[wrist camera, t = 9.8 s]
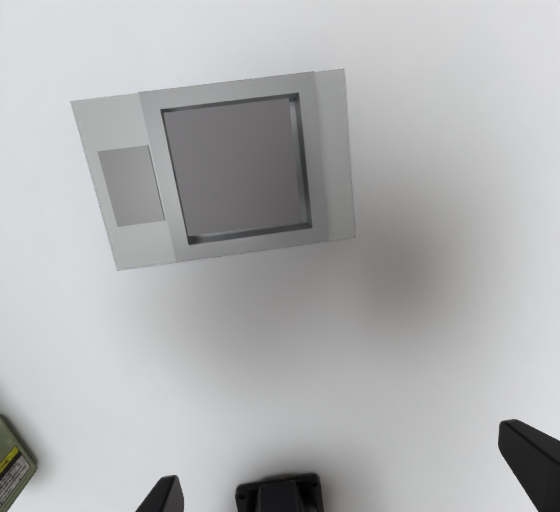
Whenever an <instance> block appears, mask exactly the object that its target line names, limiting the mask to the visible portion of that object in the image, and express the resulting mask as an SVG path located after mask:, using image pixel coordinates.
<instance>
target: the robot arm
mask: <svg viewBox="0 0 560 512" xmlns="http://www.w3.org/2000/svg"><path fill="white" fill-rule="evenodd" d="M498 446H499V450H500V452H501V454H502V456H503V457H504V459H505V460H506V462H507V464H508V465H509V467H510V468H511V470H512V471H513V473H514V474H515V476H516V478H517V479H518V481H519V482H520V484H521V485H522V487H523V489H524V490H525V492H526V493H527V495H528V496H529V498H530V499H531V501H532V503H533V504H534V506H535V507H536V509H537V510H538V512H560V441H559V440H557V439H555V438H553V437H551V436H549V435H547V434H545V433H543V432H541V431H539V430H537V429H535V428H533V427H531V426H529V425H527V424H525V423H523V422H521V421H519V420H517V419H511V420H505V421H501V423H500V425H499V437H498ZM235 499H236V504H237V508H238V512H324V509H323V501H322V493H321V484H320V479H319V477H318V476H317V475H308V476H302V477H296V478H290V479H284V480H278V481H272V482H266V483H260V484H254V485H248V486H242V487H239V488H237V489H236V494H235ZM135 512H184V496H183V493H182V489H181V485H180V482H179V478H178V476H177V475H171V476H165V477H162V478H161V479H160V480H159V481H158V482H157V483H156V485H155V486H154V487H153V489H152V490H151V491H150V493H149V494H148V495H147V497H146V498H145V499H144V501H143V502H142V503H141V505H140V506H139V507H138V509H137V510H136V511H135Z"/></svg>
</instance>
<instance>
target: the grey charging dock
mask: <svg viewBox="0 0 560 512" xmlns="http://www.w3.org/2000/svg"><path fill="white" fill-rule="evenodd" d="M286 98H289V105H290V115H291V124H292V134H293V143H294V153H295V163H296V172H297V182H298V191H299V201H300V210H301V220H302V221H301V222H293V223H286V224H278V225H271V226H263V227H256V228H248V229H241V230H233V231H226V232H218V233H210V234H203V235H195V236H188V232H187V227H186V222H185V217H184V212H183V207H182V202H181V197H180V192H179V187H178V182H177V177H176V172H175V168H174V163H173V158H172V153H171V148H170V143H169V138H168V133H167V128H166V123H165V118H164V113H166V112H175V111H183V110H192V109H200V108H209V107H217V106H226V105H234V104H243V103H252V102H260V101H269V100H277V99H286ZM70 102H71V105H72V109H73V113H74V116H75V120H76V123H77V127H78V131H79V134H80V138H81V142H82V145H83V149H84V152H85V156H86V160H87V163H88V167H89V170H90V174H91V178H92V181H93V185H94V188H95V192H96V196H97V199H98V203H99V207H100V210H101V214H102V217H103V221H104V225H105V228H106V232H107V235H108V239H109V243H110V246H111V250H112V253H113V257H114V261H115V264H116V268H117V271H120V270H127V269H134V268H141V267H148V266H156V265H163V264H170V263H177V262H184V261H191V260H198V259H206V258H213V257H220V256H227V255H234V254H241V253H248V252H256V251H263V250H270V249H277V248H284V247H291V246H298V245H306V244H313V243H320V242H327V241H334V240H341V239H348V238H355V229H354V213H353V198H352V182H351V167H350V151H349V135H348V120H347V104H346V89H345V73H344V69H338V70H329V71H321V72H314V71H313V72H305V73H297V74H288V75H280V76H271V77H263V78H255V79H246V80H238V81H229V82H221V83H213V84H204V85H196V86H187V87H179V88H171V89H162V90H154V91H145V92H138V93H136V94H128V95H119V96H111V97H103V98H94V99H86V100H77V101H70Z"/></svg>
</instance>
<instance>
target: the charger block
mask: <svg viewBox="0 0 560 512" xmlns="http://www.w3.org/2000/svg"><path fill="white" fill-rule="evenodd" d="M164 118H165V123H166V128H167V133H168V138H169V143H170V148H171V153H172V158H173V163H174V168H175V172H176V177H177V182H178V187H179V192H180V197H181V202H182V207H183V212H184V217H185V222H186V227H187V232H188V236H195V235H203V234H210V233H218V232H226V231H233V230H241V229H248V228H256V227H263V226H271V225H278V224H286V223H293V222H301V221H302V220H301V210H300V201H299V191H298V182H297V172H296V163H295V153H294V143H293V134H292V124H291V115H290V105H289V98H286V99H277V100H269V101H260V102H252V103H243V104H234V105H226V106H217V107H209V108H200V109H192V110H183V111H175V112H166V113H164Z"/></svg>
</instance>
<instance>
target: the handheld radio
mask: <svg viewBox="0 0 560 512" xmlns="http://www.w3.org/2000/svg"><path fill="white" fill-rule="evenodd" d="M36 470H37V466H36V465H35V463H34V462H33V461H32V459H31V458H30V456H29V455H28V454H27V452H26V451H25V449H24V448H23V447H22V445H21V444H20V442H19V441H18V440H17V438H16V437H15V435H14V434H13V433H12V431H11V430H10V428H9V427H8V426H7V424H6V423H5V421H4V420H3V418H2V417H1V416H0V512H7V511H8V510H9V508H10V507H11V506H12V504H13V503H14V501H15V500H16V499H17V497H18V496H19V494H20V493H21V492H22V490H23V489H24V487H25V486H26V485H27V483H28V482H29V480H30V479H31V478H32V476H33V475H34V473H35V472H36Z"/></svg>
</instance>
